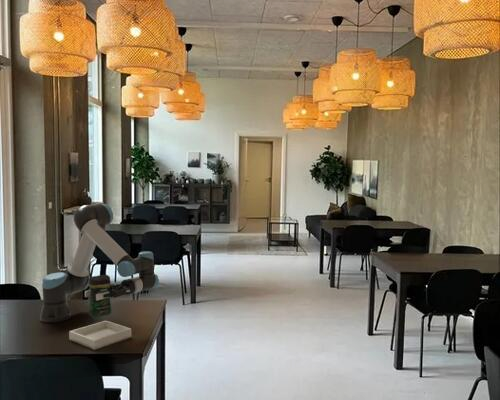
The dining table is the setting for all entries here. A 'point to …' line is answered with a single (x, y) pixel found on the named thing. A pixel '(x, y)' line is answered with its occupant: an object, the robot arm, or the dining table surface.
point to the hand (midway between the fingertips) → (90, 295)
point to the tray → (100, 334)
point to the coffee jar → (98, 286)
